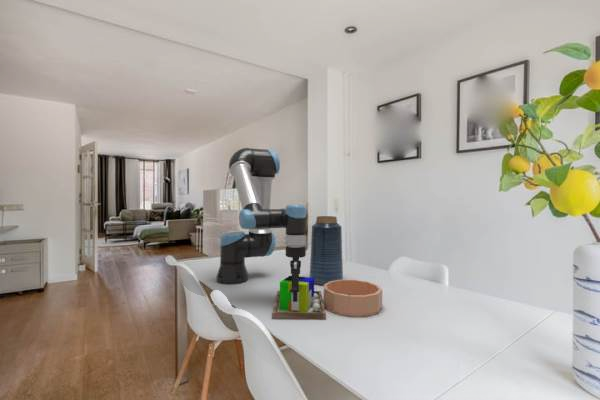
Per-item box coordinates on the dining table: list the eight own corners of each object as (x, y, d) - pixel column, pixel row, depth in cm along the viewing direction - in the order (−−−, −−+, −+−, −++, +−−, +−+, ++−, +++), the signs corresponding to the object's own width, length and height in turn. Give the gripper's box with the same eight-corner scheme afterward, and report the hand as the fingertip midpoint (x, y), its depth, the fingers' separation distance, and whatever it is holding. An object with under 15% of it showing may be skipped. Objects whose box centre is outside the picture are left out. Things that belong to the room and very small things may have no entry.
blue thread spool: (348, 280, 148) (348, 216, 148) (333, 288, 135) (334, 218, 135) (319, 275, 157) (319, 215, 157) (303, 282, 143) (303, 216, 143)
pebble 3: (312, 309, 108) (312, 301, 108) (320, 309, 108) (320, 301, 108) (312, 313, 106) (312, 304, 105) (320, 313, 105) (320, 304, 105)
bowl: (322, 296, 124) (322, 279, 124) (373, 296, 124) (373, 279, 124) (326, 316, 102) (326, 296, 102) (388, 317, 102) (388, 296, 102)
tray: (277, 295, 124) (277, 290, 124) (321, 295, 124) (321, 291, 124) (272, 318, 100) (272, 313, 100) (325, 319, 100) (325, 313, 100)
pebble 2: (311, 302, 113) (311, 297, 112) (319, 301, 114) (319, 296, 112) (312, 309, 111) (312, 304, 109) (320, 308, 111) (321, 303, 109)
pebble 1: (311, 299, 120) (311, 292, 119) (318, 299, 119) (318, 292, 119) (311, 302, 116) (311, 294, 116) (319, 302, 116) (319, 294, 116)
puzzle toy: (313, 304, 115) (314, 277, 114) (305, 313, 105) (306, 285, 105) (289, 300, 118) (289, 275, 118) (279, 309, 108) (279, 282, 108)
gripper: (287, 241, 124) (286, 293, 124) (283, 251, 100) (283, 316, 100) (305, 241, 124) (305, 293, 124) (306, 251, 100) (306, 316, 100)
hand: (295, 303), depth 112 cm, fingers closed on puzzle toy, 12 cm apart
